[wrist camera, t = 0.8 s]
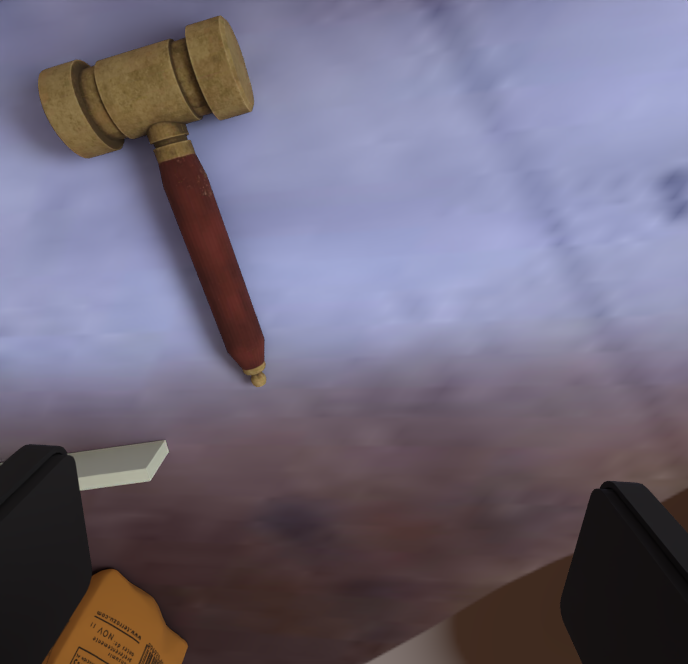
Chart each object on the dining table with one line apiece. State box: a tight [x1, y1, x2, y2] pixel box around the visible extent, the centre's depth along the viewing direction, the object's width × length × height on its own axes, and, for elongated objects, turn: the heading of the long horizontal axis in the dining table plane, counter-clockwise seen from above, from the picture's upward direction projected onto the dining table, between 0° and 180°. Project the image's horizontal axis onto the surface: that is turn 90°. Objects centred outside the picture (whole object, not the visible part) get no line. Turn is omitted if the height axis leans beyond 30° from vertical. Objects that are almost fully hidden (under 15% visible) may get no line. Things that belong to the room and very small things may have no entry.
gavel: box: [38, 16, 266, 387], centre depth 29 cm, size 21×5×10 cm
